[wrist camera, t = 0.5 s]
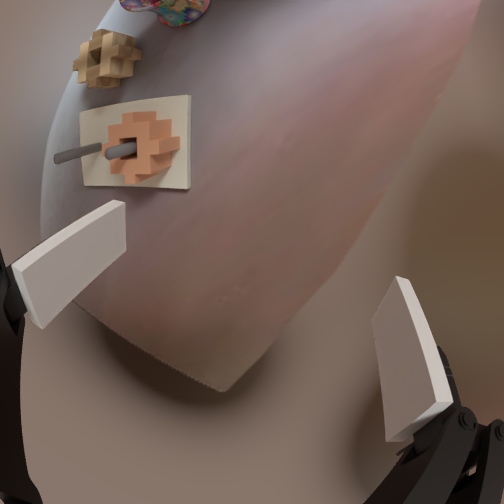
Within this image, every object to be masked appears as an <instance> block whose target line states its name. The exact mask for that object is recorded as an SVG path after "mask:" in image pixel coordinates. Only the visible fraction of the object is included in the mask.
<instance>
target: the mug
mask: <svg viewBox="0 0 504 504" xmlns="http://www.w3.org/2000/svg"><path fill="white" fill-rule="evenodd" d="M119 1H120V4H121V6H122V7H123V8H124V9H126V10H128V11H132V12H141V11H152V12H155V13H157V14H158V17H159V19H160V20H161V22H163V23H164V24H166V25H169V26H183V25H186V24H189V23H191V22H193V21H195V20H196V19H198V18H199V17H200V16H201V15H202V14H203V13H204V12H205V11H206V9H207V8H208V6H209V3H210V0H119Z"/></svg>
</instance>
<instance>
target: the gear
mask: <svg viewBox="0 0 504 504" xmlns="http://www.w3.org/2000/svg"><path fill="white" fill-rule="evenodd" d="M135 44H136V38H134V37H131V36H128V35H124V34H121V33H117V32H113V31H109V30H105V29H99V30H97V31H95V32H93V36H92V40H90V41H88V42H85V43H83V44H81V47H80V56H79V59H77V60H74V64H73V71H78V82H77V83H88V88H116V87H120V80H121V78H126V77H130V76H133V68H134V61H138V60H141V54H142V50H140V49H136V48H135Z"/></svg>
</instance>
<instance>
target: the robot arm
mask: <svg viewBox="0 0 504 504" xmlns="http://www.w3.org/2000/svg"><path fill="white" fill-rule="evenodd" d="M125 251H126V228H125V202H121V201H117V200H112V201H110V202H108V203H106V204H105V205H103V206H101V207H99V208H97V209H96V210H94V211H92V212H90V213H89V214H87V215H85V216H84V217H82V218H80V219H79V220H77V221H75V222H74V223H72V224H70V225H69V226H67V227H66V228H64V229H62V230H61V231H59V232H58V233H56V234H55V235H53V236H52V237H50V238H49V239H46V240H44V241H43V242H41V243H40V244H38V245H37V246H36V247H34V248H32V249H31V250H30V252H29V251H28V252H27V253H25V254H24V255H22V256H21V257H20V258H18V259H17V260H16V261H14V262H13V263H12V264H10V265H9V266H8V267H5V263H4V260H3V257H2V253H1V249H0V499H1V500H2V501H3V502H4V504H43V502H42V499H41V496H40V494H39V491H38V490H37V488H36V486H35V485H34V484H33V482H32V481H31V479H30V477H29V475H28V470H27V465H26V459H25V453H24V445H23V436H22V426H21V410H20V371H21V354H22V344H23V343H22V342H23V335H24V327H25V318H24V314H25V313H26V312H28V314H29V316H30V319H31V321H32V322H33V323H34V324H36V325H37V326H38V327H40V328H41V329H44V328H45V327H46V326H47V325H48V324H49V323H50V322H51V320H52V319H53V318H54V317H55V316H56V315H57V314H58V313H59V312H60V311H61V310H62V309H63V308H64V307H65V306H66V305H67V304H68V303H69V302H70V301H71V300H73V299H74V298H75V297H76V296H77V295H78V294H79V293H80V292H81V291H82V290H83V289H84V288H85V287H86V286H87V285H88V284H89V283H90V282H92V281H93V280H94V279H95V278H96V277H97V276H98V275H99V274H100V273H101V272H102V271H104V270H105V269H106V268H107V267H108V266H109V265H110V264H111V263H113V262H114V261H115V260H116V259H117V258H118V257H119V256H121V255H122V254H123V253H124V252H125ZM371 324H372V329H373V335H374V340H375V346H376V352H377V359H378V366H379V373H380V381H381V389H382V397H383V408H384V419H385V431H386V442H403V441H405V440H406V439H407V438H409V437H410V436H411V435H413V437H414V442H413V443H411V444H410V445H408V446H406V447H405V448H403V449H402V450H400V451H399V452H398V453H397V454H396V455H397V456H398V455H400V454H401V453H403V452H404V453H403V455H402V456H401V458H400V459H399V461H398V462H397V463H396V465H395V466H394V467H393V469H392V470H391V471H390V473H389V474H388V475H387V476H386V478H385V479H384V480H383V481H382V483H381V484H380V485H379V486H378V487H377V489H376V490H375V491H374V492H373V493H372V494H371V496H370V497H369V498H368V499H367V500H366V501H365V502H364V503H363V504H500V503H501V498H502V493H503V488H504V422H503V421H502V420H500V419H496V420H494V421H493V422H492V423H490V424H489V425H488V426H484V425H481V424H478V423H477V419H476V417H475V415H474V413H473V412H472V411H471V410H470V409H469V408H467V407H462V406H461V402H460V399H459V395H458V391H457V388H456V385H455V381H454V378H453V377H452V372H451V369H450V368H449V363H448V360H447V357H446V355H445V354H444V352H443V351H442V349H441V348H440V347H439V346H436V344H435V341H434V339H433V336H432V333H431V331H430V328H429V326H428V323H427V321H426V318H425V316H424V313H423V311H422V308H421V306H420V304H419V301H418V299H417V297H416V295H415V292H414V290H413V288H412V286H411V284H410V282H409V280H408V279H404V278H401V277H398V276H395V277H394V280H393V281H392V283H391V285H390V287H389V289H388V291H387V293H386V294H385V296H384V298H383V300H382V302H381V303H380V305H379V307H378V309H377V311H376V312H375V314H374V316H373V317H372V319H371ZM475 466H477V467H476V472H475V473H474V474H472V475H470V476H469V470H470V469H472V468H474V467H475Z"/></svg>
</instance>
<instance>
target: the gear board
mask: <svg viewBox="0 0 504 504" xmlns="http://www.w3.org/2000/svg"><path fill="white" fill-rule="evenodd" d="M191 96H192V95H179V96H168V97H159V98H151V99H143V100H137V101H130V102H124V103H119V104H113V105H108V106H103V107H99V108H94V109H90V110H86V111H82V112H79V121H80V146H81V147H79V148H75V149H71V150H68V151H64V152H61V153H57V154H55V155H54V163H55V164H60V163H63V162H66V161H69V160H72V159H76V158H79V157H81V160H82V171H83V181H84V186H135V187H159V188H178V189H189V188H190V187H191V166H190V139H191Z"/></svg>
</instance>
